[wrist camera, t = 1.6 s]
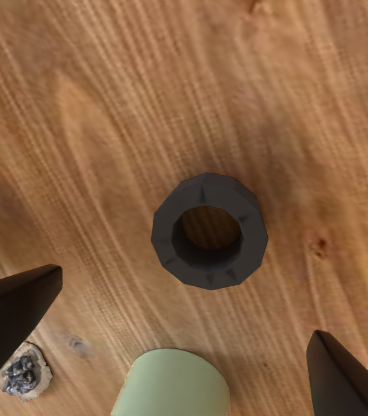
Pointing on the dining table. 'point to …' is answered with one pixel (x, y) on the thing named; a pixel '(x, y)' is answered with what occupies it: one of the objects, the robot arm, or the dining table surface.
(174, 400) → the green cylinder with peg
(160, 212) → the rubber ring
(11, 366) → the blueberry tart
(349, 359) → the robot arm
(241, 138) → the dining table surface
